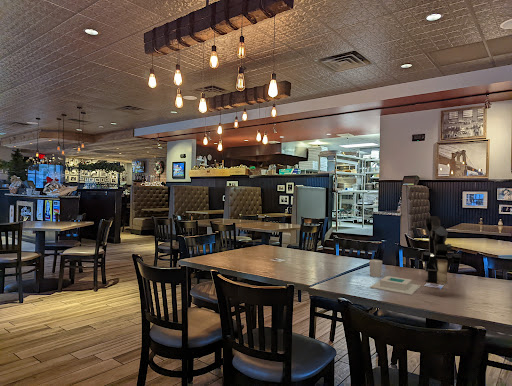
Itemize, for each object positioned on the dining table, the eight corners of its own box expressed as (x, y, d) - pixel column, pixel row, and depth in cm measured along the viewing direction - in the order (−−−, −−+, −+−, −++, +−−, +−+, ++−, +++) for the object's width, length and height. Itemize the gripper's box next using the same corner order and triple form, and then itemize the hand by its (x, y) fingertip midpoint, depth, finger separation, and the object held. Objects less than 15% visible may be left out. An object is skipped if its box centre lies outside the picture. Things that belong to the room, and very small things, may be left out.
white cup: (373, 277, 224) (374, 262, 224) (366, 274, 231) (367, 259, 231) (384, 277, 226) (384, 261, 226) (377, 274, 234) (377, 259, 234)
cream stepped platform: (382, 280, 218) (382, 273, 218) (421, 286, 205) (421, 279, 205) (369, 287, 199) (370, 280, 199) (411, 295, 186) (411, 287, 186)
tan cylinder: (439, 281, 189) (440, 259, 189) (448, 283, 185) (449, 260, 185) (435, 282, 186) (435, 260, 186) (444, 284, 183) (444, 261, 183)
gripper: (422, 237, 193) (424, 260, 182) (461, 239, 186) (465, 263, 176) (420, 249, 200) (422, 272, 190) (457, 251, 194) (461, 276, 184)
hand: (442, 271), depth 185 cm, fingers closed on tan cylinder, 5 cm apart
